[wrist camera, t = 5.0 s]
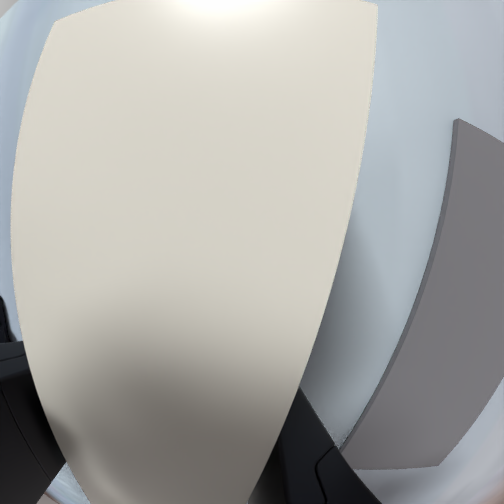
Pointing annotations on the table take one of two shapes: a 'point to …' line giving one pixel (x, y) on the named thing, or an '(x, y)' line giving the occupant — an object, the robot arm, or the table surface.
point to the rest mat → (445, 324)
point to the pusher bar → (184, 230)
